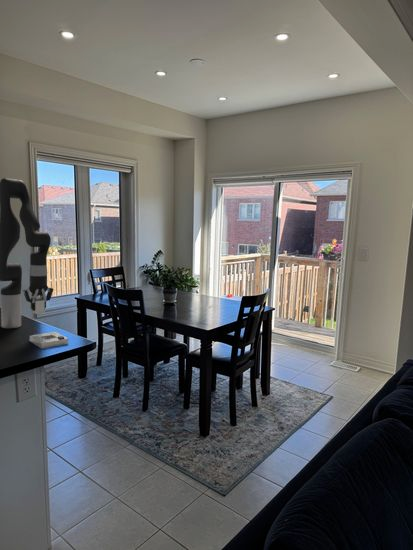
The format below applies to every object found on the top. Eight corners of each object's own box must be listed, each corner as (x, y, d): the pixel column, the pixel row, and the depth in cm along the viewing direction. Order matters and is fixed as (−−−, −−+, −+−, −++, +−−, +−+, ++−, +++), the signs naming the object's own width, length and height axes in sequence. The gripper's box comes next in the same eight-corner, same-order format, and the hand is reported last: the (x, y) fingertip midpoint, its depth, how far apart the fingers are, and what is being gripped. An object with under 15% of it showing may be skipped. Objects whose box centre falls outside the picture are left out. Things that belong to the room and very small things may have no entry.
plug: (32, 312, 181) (32, 298, 180) (41, 311, 184) (41, 297, 183) (35, 314, 179) (35, 299, 178) (44, 313, 181) (44, 298, 180)
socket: (29, 341, 175) (29, 334, 175) (55, 336, 183) (55, 330, 183) (41, 348, 165) (41, 341, 165) (68, 343, 173) (68, 337, 173)
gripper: (50, 272, 187) (50, 306, 189) (19, 274, 177) (19, 310, 179) (56, 274, 181) (56, 309, 184) (25, 276, 171) (25, 313, 174)
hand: (38, 309), depth 181 cm, fingers closed on plug, 4 cm apart
